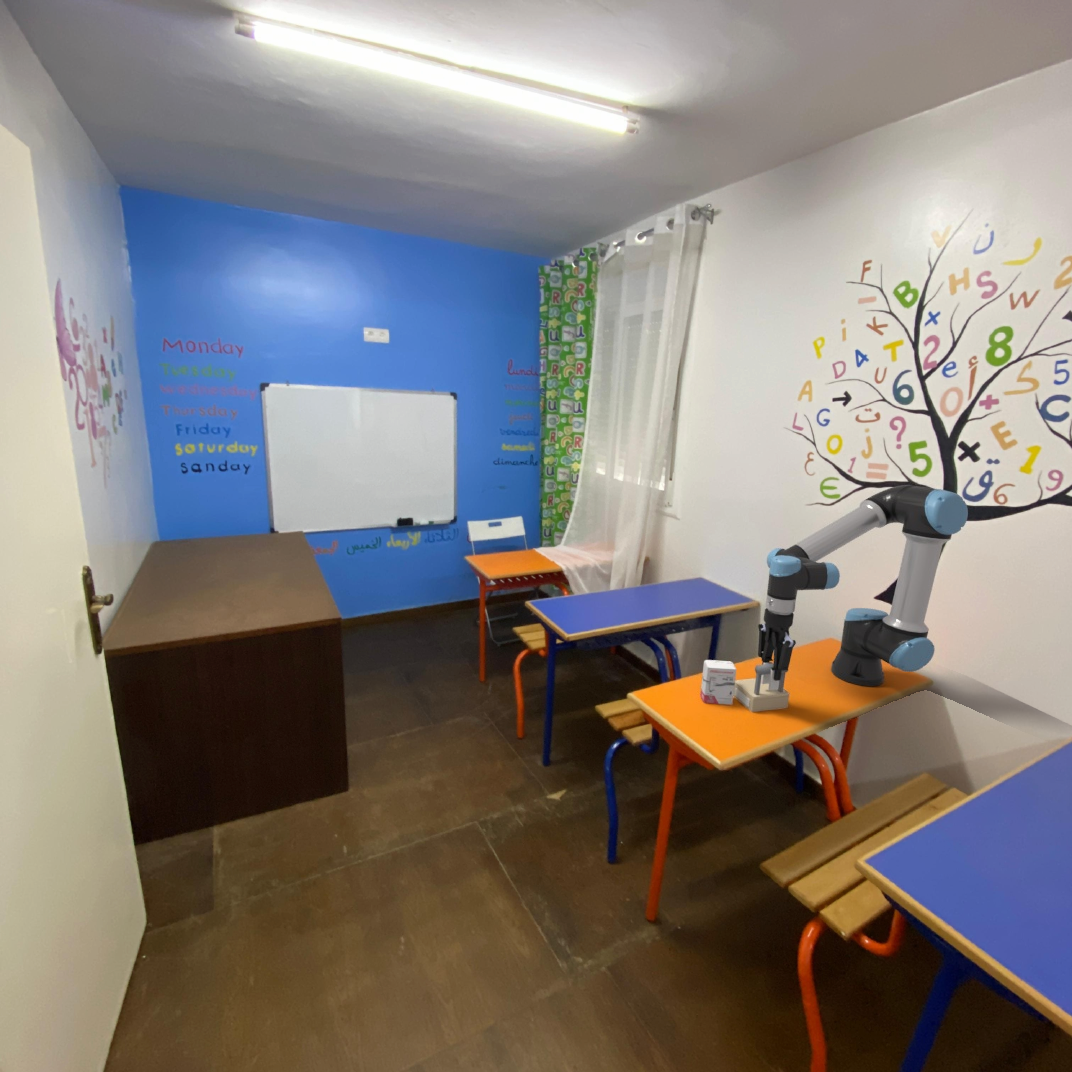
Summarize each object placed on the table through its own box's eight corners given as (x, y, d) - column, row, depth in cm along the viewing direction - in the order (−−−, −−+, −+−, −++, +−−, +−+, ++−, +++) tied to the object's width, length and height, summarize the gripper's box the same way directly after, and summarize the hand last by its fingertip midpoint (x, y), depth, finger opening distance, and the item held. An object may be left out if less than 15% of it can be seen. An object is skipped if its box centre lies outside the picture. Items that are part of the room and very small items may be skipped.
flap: (767, 679, 166) (771, 650, 164) (789, 695, 157) (793, 664, 154) (733, 682, 163) (736, 653, 161) (753, 699, 154) (757, 668, 152)
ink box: (703, 703, 159) (706, 666, 156) (699, 695, 164) (703, 659, 161) (732, 705, 158) (737, 668, 156) (728, 696, 163) (732, 661, 160)
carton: (765, 690, 167) (767, 679, 166) (787, 707, 158) (789, 695, 157) (731, 694, 164) (732, 683, 163) (751, 712, 155) (752, 700, 154)
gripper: (750, 601, 157) (741, 674, 163) (787, 621, 142) (776, 701, 148) (772, 600, 159) (763, 672, 164) (810, 619, 144) (799, 698, 149)
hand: (769, 685), depth 156 cm, fingers closed on flap, 3 cm apart
